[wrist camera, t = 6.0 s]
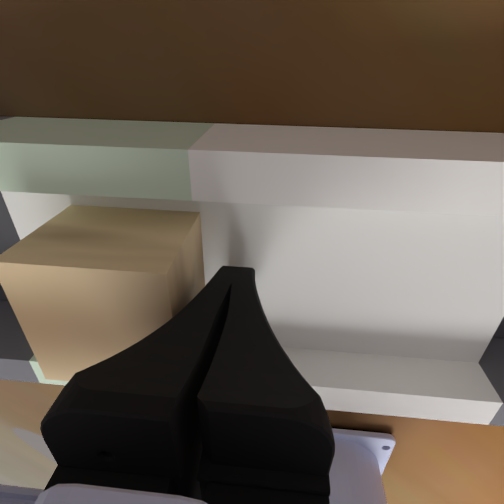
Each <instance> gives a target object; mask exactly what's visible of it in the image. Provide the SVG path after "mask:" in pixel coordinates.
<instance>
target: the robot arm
mask: <svg viewBox="0 0 504 504" xmlns="http://www.w3.org/2000/svg"><path fill="white" fill-rule="evenodd" d="M41 433H42V435H43V438H44V441H45V442H46V444H47V446H48V448H49V449H50V451H51V453H52V455H53V457H54V459H55V460H56V462H57V464H58V466H57V468H56V469H55V471H54V473H53V475H52V477H51V478H50V480H49V482H48V484H47V486H46V487H45V489H44V490H43V489H35V488H26V487H18V486H9V485H1V484H0V504H387V500H386V496H385V491H384V487H383V482H382V478H381V475H382V473H383V471H384V468H385V466H386V464H387V462H388V459H389V457H390V455H391V453H392V450H393V448H394V446H395V443H396V442H395V438H394V436H393V435H391V434H388V433H377V432H367V431H357V430H346V429H336V428H332V427H331V424H330V421H329V418H328V415H327V412H326V409H325V407H324V404H323V402H322V399H321V397H320V395H319V394H318V393H317V392H316V391H315V390H314V389H313V388H312V387H311V386H310V384H309V383H308V382H307V381H306V380H305V379H304V377H303V376H302V375H301V374H300V372H299V371H298V370H297V368H296V367H295V366H294V364H293V363H292V361H291V360H290V358H289V357H288V356H287V354H286V353H285V351H284V350H283V348H282V347H281V345H280V343H279V341H278V340H277V338H276V336H275V334H274V332H273V330H272V329H271V326H270V324H269V322H268V320H267V318H266V315H265V313H264V310H263V308H262V305H261V302H260V299H259V295H258V292H257V288H256V283H255V270H254V269H253V268H251V267H236V266H222V267H221V268H220V269H219V270H218V271H217V272H216V274H215V275H214V276H213V277H212V279H211V280H210V281H209V282H208V283H207V284H206V286H205V287H204V288H203V289H202V290H201V291H200V292H199V293H198V294H197V295H196V296H195V297H194V298H193V299H192V300H191V301H190V302H189V303H188V304H187V305H186V306H185V307H184V308H183V309H182V310H181V311H180V312H178V313H177V314H176V315H175V316H174V317H173V318H171V319H170V320H169V321H168V322H166V323H165V324H164V325H162V326H161V327H160V328H158V329H157V330H155V331H154V332H152V333H151V334H149V335H148V336H146V337H145V338H143V339H142V340H140V341H139V342H137V343H135V344H134V345H132V346H130V347H128V348H127V349H125V350H123V351H121V352H119V353H117V354H115V355H114V356H112V357H110V358H108V359H106V360H103V361H101V362H99V363H97V364H95V365H92V366H90V367H88V368H86V369H84V370H81V371H79V372H77V373H75V374H74V375H73V377H72V378H71V379H70V381H69V382H68V383H67V384H66V386H65V387H64V388H63V390H62V391H61V393H60V394H59V396H58V397H57V399H56V400H55V402H54V403H53V405H52V406H51V408H50V409H49V411H48V412H47V414H46V415H45V417H44V418H43V420H42V422H41Z"/></svg>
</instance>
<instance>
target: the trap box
mask: <svg viewBox="0 0 504 504" xmlns="http://www.w3.org/2000/svg"><path fill="white" fill-rule="evenodd" d="M0 191H1V193H2V196H3V198H4V201H5V203H6V206H7V208H8V211H9V213H10V216H11V218H12V221H13V223H14V226H15V228H16V231H17V233H18V236H19V238H20V240H22V239H23V238H25V237H26V236H27V235H29V234H30V233H32V232H33V231H35V230H36V229H37V228H39V227H40V226H42V225H43V224H45V223H46V222H47V221H49V220H50V219H52V218H53V217H55V216H56V215H57V214H59V213H60V212H62V211H63V210H64V209H66V208H67V207H69V206H70V205H82V206H100V207H118V208H136V209H153V210H171V211H189V212H200V217H201V232H202V247H203V261H204V276H205V286H206V284H207V283H208V282H209V281H210V280H211V279H212V277H213V276H214V275H215V274H216V272H217V271H218V270H219V269H220V268H221V267H222V266H236V267H251V268H253V269H254V270H255V283H256V288H257V292H258V295H259V299H260V302H261V305H262V308H263V310H264V313H265V315H266V318H267V320H268V322H269V324H270V326H271V329H272V330H273V332H274V334H275V336H276V338H277V340H278V341H279V343H280V345H281V347H282V348H283V350H284V351H285V353H286V354H287V356H288V357H289V358H290V360H291V361H292V363H293V364H294V366H295V367H296V368H297V370H298V371H299V372H300V374H301V375H302V376H303V377H304V379H305V380H306V381H307V382H308V383H309V384H310V386H311V387H312V388H313V389H314V390H315V391H316V392H317V393H318V394H319V395H320V397H321V399H322V402H323V404H324V407H325V409H326V410H336V411H346V412H357V413H368V414H378V415H389V416H400V417H411V418H421V419H432V420H443V421H454V422H464V423H475V424H486V425H496V426H504V338H493V335H494V333H495V332H496V330H497V328H498V326H499V324H500V322H501V321H502V319H503V317H504V133H490V132H460V131H430V130H400V129H370V128H340V127H310V126H280V125H250V124H220V123H190V122H160V121H130V120H100V119H70V118H40V117H10V116H0ZM0 379H3V380H14V381H25V382H36V383H46V384H57V385H66V384H67V383H68V382H69V381H60V380H50V379H45V377H44V374H43V372H42V370H41V368H40V366H39V364H38V362H37V360H36V358H35V355H34V353H33V351H32V349H31V347H30V345H29V343H28V341H27V338H26V336H25V334H24V332H23V330H22V328H21V326H20V324H19V322H18V319H17V317H16V315H15V313H14V311H13V309H12V307H11V305H10V302H9V301H2V300H0Z"/></svg>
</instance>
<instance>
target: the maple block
mask: <svg viewBox="0 0 504 504" xmlns="http://www.w3.org/2000/svg"><path fill="white" fill-rule="evenodd" d="M0 283H1V286H2V288H3V290H4V292H5V294H6V296H7V298H8V300H9V302H10V305H11V307H12V309H13V311H14V313H15V315H16V317H17V319H18V322H19V324H20V326H21V328H22V330H23V332H24V334H25V336H26V338H27V341H28V343H29V345H30V347H31V349H32V351H33V353H34V355H35V358H36V360H37V362H38V364H39V366H40V368H41V370H42V372H43V374H44V377H45V379H50V380H60V381H70V379H71V378H72V377H73V375H74V374H75V373H77V372H79V371H81V370H84V369H86V368H88V367H90V366H92V365H95V364H97V363H99V362H101V361H103V360H106V359H108V358H110V357H112V356H114V355H115V354H117V353H119V352H121V351H123V350H125V349H127V348H128V347H130V346H132V345H134V344H135V343H137V342H139V341H140V340H142V339H143V338H145V337H146V336H148V335H149V334H151V333H152V332H154V331H155V330H157V329H158V328H160V327H161V326H162V325H164V324H165V323H166V322H168V321H169V320H170V319H171V318H173V317H174V316H175V315H176V314H177V313H178V312H180V311H181V310H182V309H183V308H184V307H185V306H186V305H187V304H188V303H189V302H190V301H191V300H192V299H193V298H194V297H195V296H196V295H197V294H198V293H199V292H200V291H201V290H202V289H203V288H204V287H205V276H204V261H203V247H202V232H201V217H200V212H189V211H171V210H153V209H136V208H118V207H100V206H82V205H70V206H69V207H67V208H66V209H64V210H63V211H62V212H60V213H59V214H57V215H56V216H55V217H53V218H52V219H50V220H49V221H47V222H46V223H45V224H43V225H42V226H40V227H39V228H37V229H36V230H35V231H33V232H32V233H30V234H29V235H27V236H26V237H25V238H23V239H22V240H20V241H19V242H17V243H16V244H15V245H13V246H12V247H10V248H9V249H7V250H6V251H5V252H3V253H2V254H0Z"/></svg>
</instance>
